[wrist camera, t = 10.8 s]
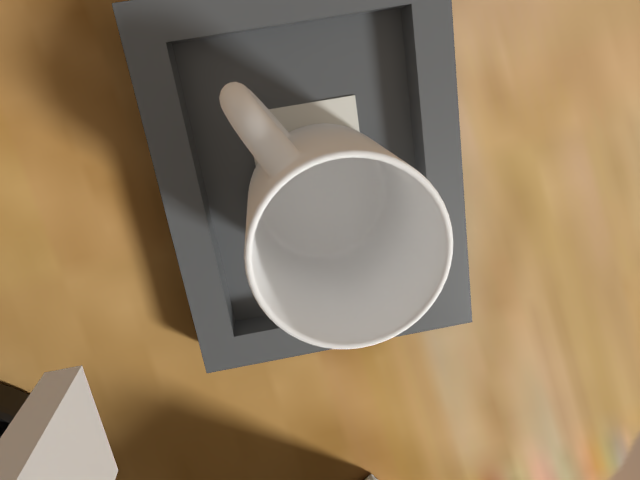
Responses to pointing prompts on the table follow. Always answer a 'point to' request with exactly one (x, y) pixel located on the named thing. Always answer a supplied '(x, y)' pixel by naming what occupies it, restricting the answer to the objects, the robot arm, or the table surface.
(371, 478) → the tea box
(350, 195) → the mug
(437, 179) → the gray tray
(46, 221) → the table surface
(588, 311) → the table surface
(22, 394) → the robot arm
